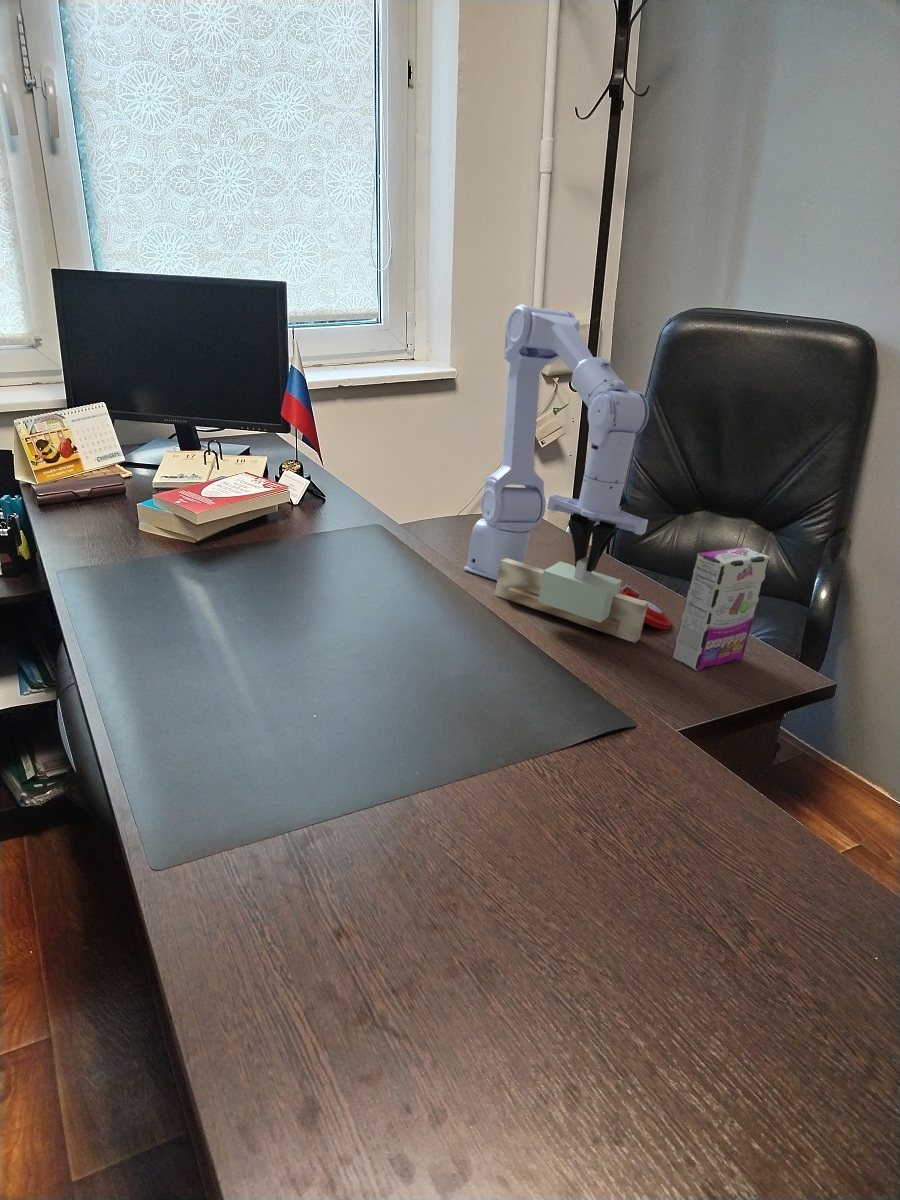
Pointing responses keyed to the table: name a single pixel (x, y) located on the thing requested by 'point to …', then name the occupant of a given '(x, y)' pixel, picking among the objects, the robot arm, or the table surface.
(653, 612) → the tracker holder
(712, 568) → the candy bar box
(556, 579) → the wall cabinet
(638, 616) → the wall board
